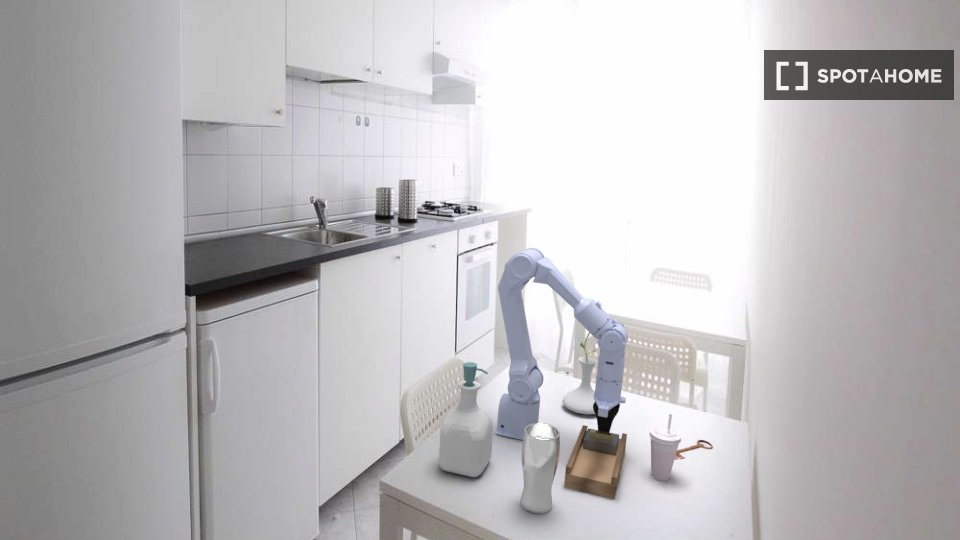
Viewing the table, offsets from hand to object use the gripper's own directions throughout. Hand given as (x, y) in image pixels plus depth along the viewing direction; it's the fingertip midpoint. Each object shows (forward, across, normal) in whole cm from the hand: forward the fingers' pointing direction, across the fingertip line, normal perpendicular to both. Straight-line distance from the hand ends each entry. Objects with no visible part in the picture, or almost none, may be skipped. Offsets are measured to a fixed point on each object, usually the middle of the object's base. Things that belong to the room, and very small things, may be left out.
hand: (603, 434), depth 129 cm
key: (+5, +8, -19) cm, 21 cm away
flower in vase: (+4, +21, +8) cm, 23 cm away
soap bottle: (+4, -20, +26) cm, 33 cm away
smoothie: (+4, -6, -13) cm, 15 cm away
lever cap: (+1, -4, 0) cm, 4 cm away
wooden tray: (+4, -9, 0) cm, 10 cm away
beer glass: (+4, -27, +9) cm, 28 cm away
